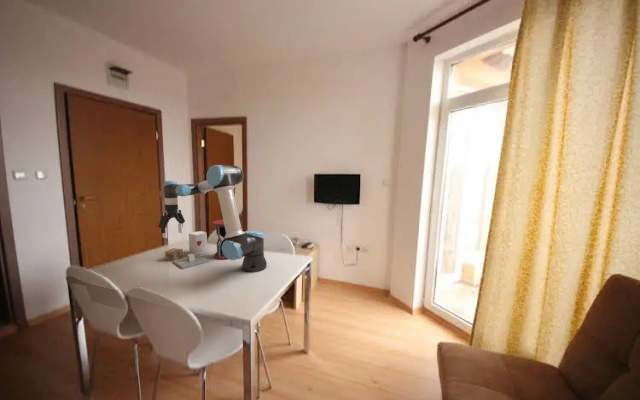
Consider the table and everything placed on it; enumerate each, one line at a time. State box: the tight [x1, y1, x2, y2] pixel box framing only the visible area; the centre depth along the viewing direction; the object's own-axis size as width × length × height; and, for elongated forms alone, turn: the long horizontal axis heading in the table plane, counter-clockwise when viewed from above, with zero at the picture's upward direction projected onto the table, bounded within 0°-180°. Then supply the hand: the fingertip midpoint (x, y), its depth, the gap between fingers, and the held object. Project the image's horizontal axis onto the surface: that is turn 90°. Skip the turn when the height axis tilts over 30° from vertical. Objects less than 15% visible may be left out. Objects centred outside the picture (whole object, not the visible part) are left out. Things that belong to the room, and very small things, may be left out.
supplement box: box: [188, 230, 208, 256], centre depth 178 cm, size 9×9×15 cm
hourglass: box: [212, 219, 229, 260], centre depth 171 cm, size 16×16×25 cm
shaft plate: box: [172, 253, 210, 270], centre depth 159 cm, size 16×16×5 cm
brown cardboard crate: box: [164, 248, 184, 262], centre depth 165 cm, size 7×7×6 cm
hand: (173, 235), depth 164 cm, fingers open, 13 cm apart
